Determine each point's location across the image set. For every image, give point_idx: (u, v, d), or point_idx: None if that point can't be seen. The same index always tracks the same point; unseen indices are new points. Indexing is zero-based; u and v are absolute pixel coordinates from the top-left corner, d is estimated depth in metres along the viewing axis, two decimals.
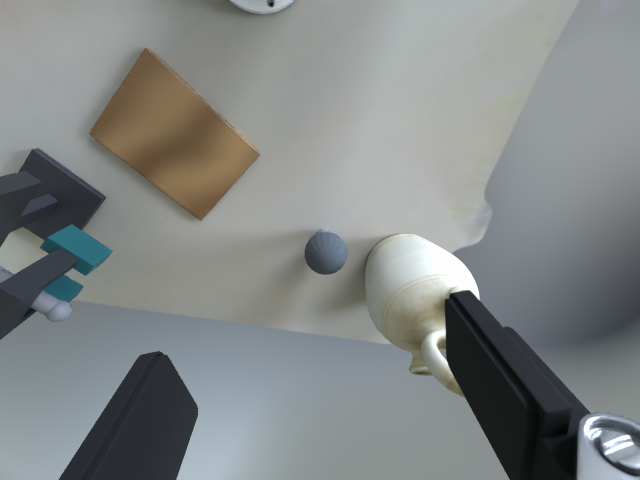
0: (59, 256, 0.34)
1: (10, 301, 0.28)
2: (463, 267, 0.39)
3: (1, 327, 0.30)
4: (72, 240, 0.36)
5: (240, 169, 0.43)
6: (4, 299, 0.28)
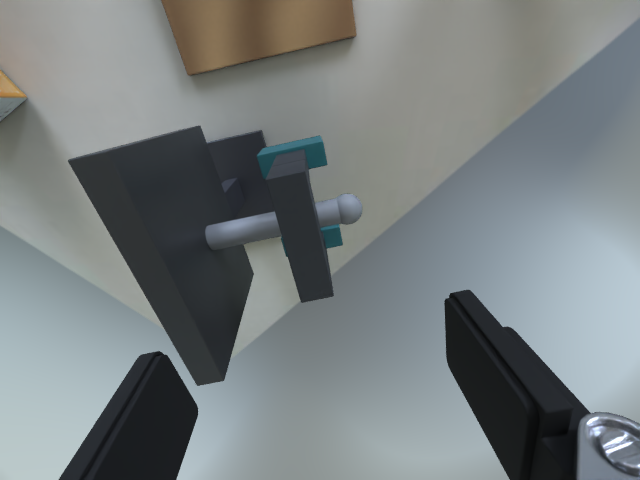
0: (285, 155, 0.23)
1: (297, 189, 0.18)
2: None
3: (320, 241, 0.19)
4: (278, 148, 0.26)
5: None
6: (289, 192, 0.18)
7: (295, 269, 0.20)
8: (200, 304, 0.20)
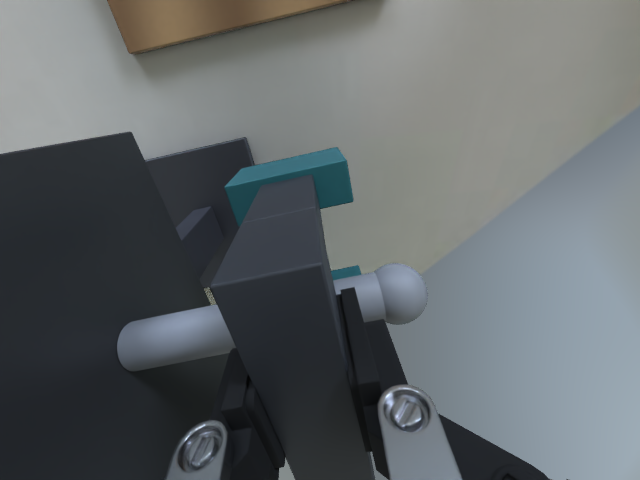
0: (275, 188, 0.12)
1: (299, 308, 0.06)
2: None
3: (355, 412, 0.08)
4: (266, 170, 0.15)
5: None
6: (278, 316, 0.06)
7: (295, 460, 0.09)
8: None
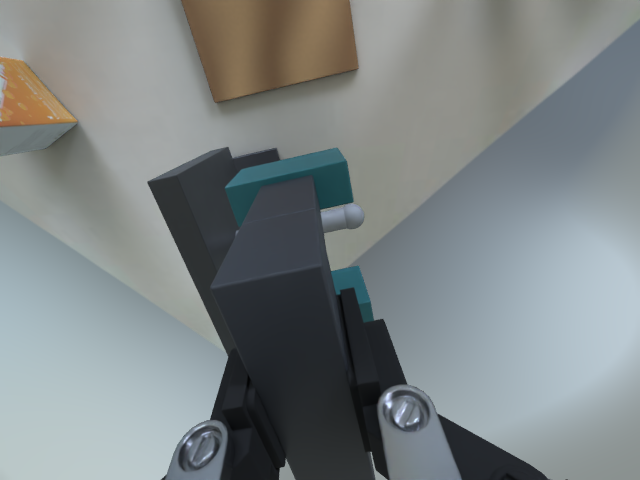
0: (275, 189, 0.12)
1: (299, 309, 0.06)
2: None
3: (355, 412, 0.08)
4: (266, 171, 0.15)
5: None
6: (278, 317, 0.06)
7: (296, 461, 0.09)
8: None
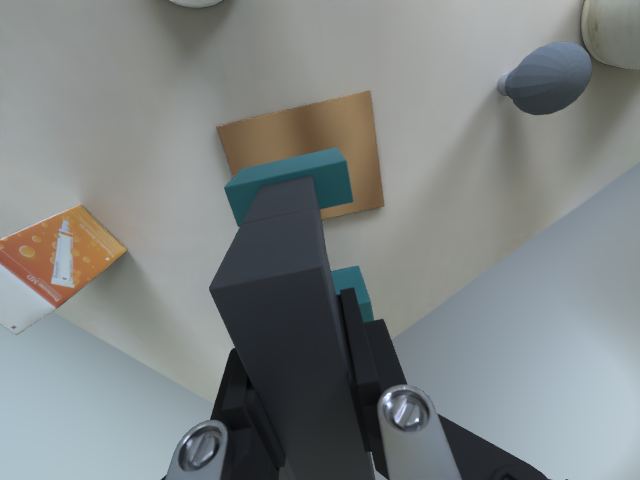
0: (275, 189, 0.12)
1: (298, 310, 0.06)
2: None
3: (355, 413, 0.08)
4: (266, 171, 0.15)
5: (369, 124, 0.35)
6: (277, 317, 0.06)
7: (295, 462, 0.09)
8: None
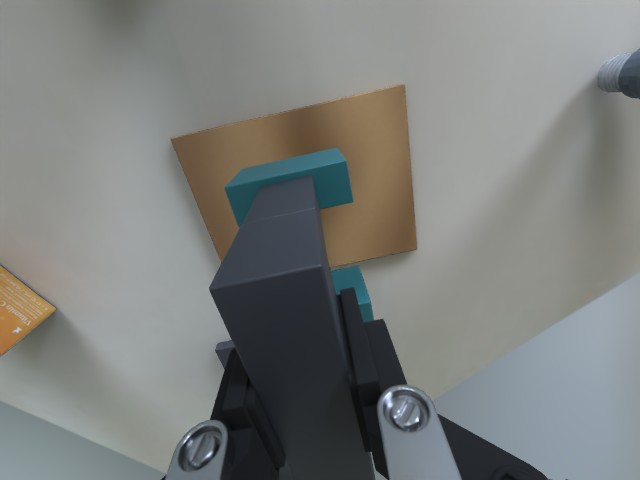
0: (275, 189, 0.12)
1: (298, 310, 0.06)
2: None
3: (355, 413, 0.08)
4: (266, 171, 0.15)
5: (400, 135, 0.23)
6: (277, 318, 0.06)
7: (295, 462, 0.09)
8: None
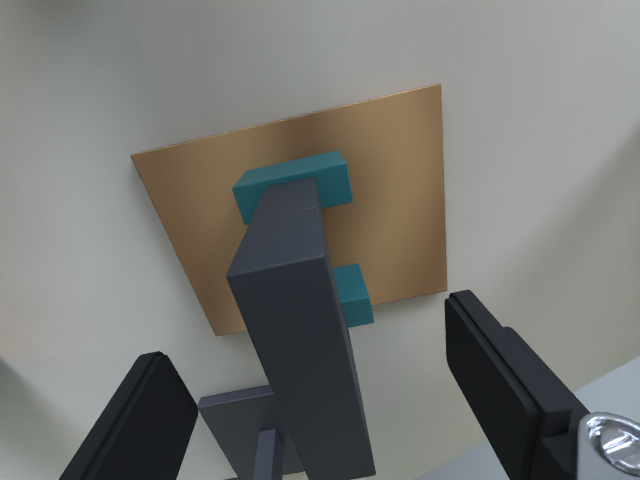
0: (280, 189, 0.13)
1: (304, 295, 0.07)
2: None
3: (354, 392, 0.09)
4: (270, 172, 0.15)
5: (433, 151, 0.18)
6: (285, 302, 0.07)
7: (299, 438, 0.10)
8: None
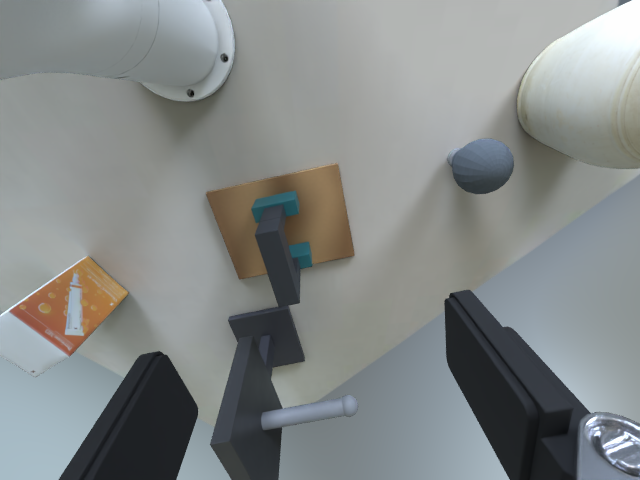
0: (269, 210, 0.35)
1: (273, 240, 0.30)
2: None
3: (289, 269, 0.31)
4: (266, 201, 0.38)
5: (338, 190, 0.40)
6: (268, 241, 0.30)
7: (274, 286, 0.32)
8: None
